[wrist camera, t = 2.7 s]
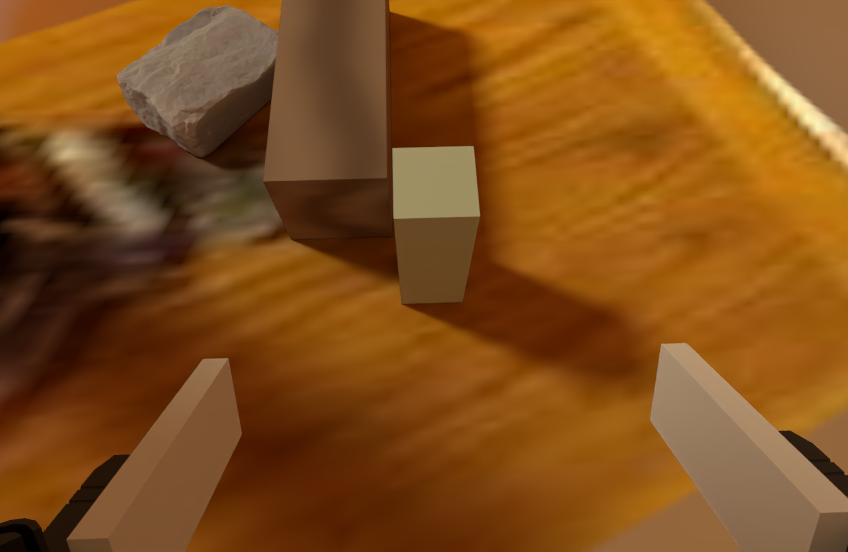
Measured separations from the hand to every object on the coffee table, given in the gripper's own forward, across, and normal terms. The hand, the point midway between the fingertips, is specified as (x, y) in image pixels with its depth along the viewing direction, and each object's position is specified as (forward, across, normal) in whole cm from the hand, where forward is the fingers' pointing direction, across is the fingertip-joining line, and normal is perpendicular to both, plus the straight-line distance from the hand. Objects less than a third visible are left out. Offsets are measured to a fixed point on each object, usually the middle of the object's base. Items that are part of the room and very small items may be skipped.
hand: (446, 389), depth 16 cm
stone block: (+31, -17, +9) cm, 36 cm away
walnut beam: (+29, -6, +7) cm, 30 cm away
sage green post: (+19, 0, -3) cm, 19 cm away
